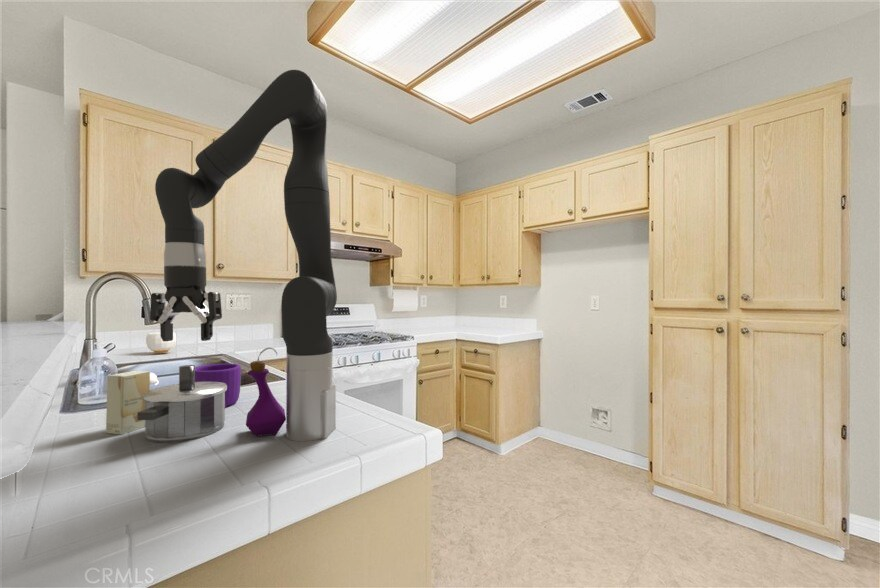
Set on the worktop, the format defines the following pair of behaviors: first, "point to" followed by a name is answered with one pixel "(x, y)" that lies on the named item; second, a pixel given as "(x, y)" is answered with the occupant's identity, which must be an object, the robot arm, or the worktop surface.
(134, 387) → the skincare box
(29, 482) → the worktop surface
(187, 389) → the lid
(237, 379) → the mug
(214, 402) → the pot
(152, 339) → the cup
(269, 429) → the perfume bottle
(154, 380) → the garlic
